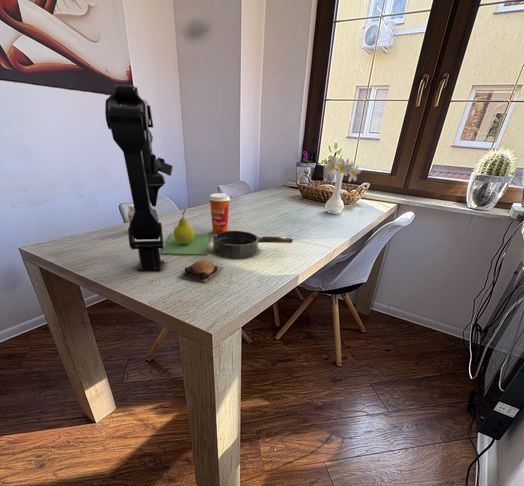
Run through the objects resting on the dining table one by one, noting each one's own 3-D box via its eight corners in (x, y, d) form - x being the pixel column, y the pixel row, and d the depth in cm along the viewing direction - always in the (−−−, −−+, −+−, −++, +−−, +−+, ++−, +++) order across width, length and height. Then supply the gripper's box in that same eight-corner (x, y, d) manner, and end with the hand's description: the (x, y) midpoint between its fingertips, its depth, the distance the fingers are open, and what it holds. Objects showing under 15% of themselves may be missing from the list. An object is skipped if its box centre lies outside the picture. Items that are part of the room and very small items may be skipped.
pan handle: (256, 243, 104) (256, 237, 103) (255, 241, 106) (255, 235, 105) (293, 244, 106) (293, 238, 105) (292, 242, 107) (292, 236, 106)
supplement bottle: (143, 228, 121) (139, 202, 116) (147, 232, 117) (143, 206, 112) (129, 230, 118) (124, 204, 113) (132, 234, 115) (128, 207, 110)
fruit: (171, 242, 108) (167, 207, 101) (188, 239, 112) (186, 205, 105) (180, 248, 104) (177, 212, 97) (198, 245, 108) (196, 209, 101)
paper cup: (206, 233, 120) (204, 195, 113) (217, 228, 126) (216, 192, 118) (223, 237, 117) (222, 198, 110) (233, 232, 123) (234, 195, 116)
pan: (259, 259, 101) (259, 246, 98) (212, 258, 99) (211, 244, 97) (256, 243, 113) (257, 231, 111) (214, 242, 112) (214, 230, 110)
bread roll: (197, 264, 95) (196, 253, 93) (222, 269, 93) (222, 257, 91) (178, 278, 86) (177, 265, 84) (205, 283, 84) (205, 270, 82)
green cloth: (205, 255, 101) (205, 254, 101) (161, 254, 100) (161, 253, 100) (209, 235, 118) (209, 234, 118) (171, 234, 117) (171, 233, 116)
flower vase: (342, 218, 149) (354, 161, 136) (312, 210, 160) (320, 156, 147) (357, 214, 157) (369, 160, 144) (327, 207, 168) (336, 155, 155)
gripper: (179, 153, 92) (183, 207, 100) (158, 147, 104) (164, 195, 113) (140, 153, 86) (148, 210, 95) (124, 146, 99) (132, 197, 107)
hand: (149, 203), depth 102 cm, fingers open, 9 cm apart
